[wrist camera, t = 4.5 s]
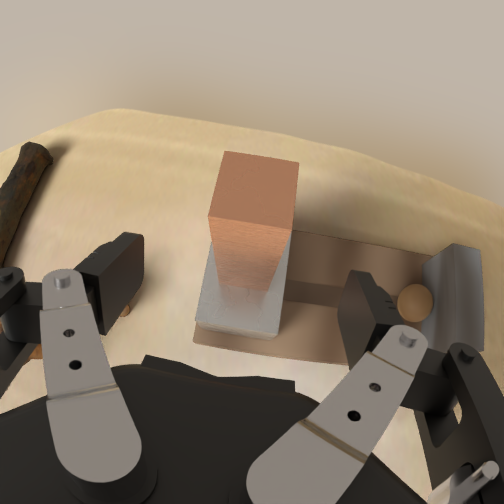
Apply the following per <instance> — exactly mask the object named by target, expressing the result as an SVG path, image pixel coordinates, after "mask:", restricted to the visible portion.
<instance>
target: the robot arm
mask: <svg viewBox="0 0 504 504" xmlns="http://www.w3.org/2000/svg"><path fill="white" fill-rule="evenodd" d="M143 277H144V237H143V235H141V234H135V233H129V232H123V233H122V234H121V235H120V236H119V237H117V238H116V239H115V240H114V241H113V242H108V243H106V244H103V245H101V246H99V247H98V248H97V249H96V250H95V251H93V253H91V254H90V255H89V256H88V258H85V259H84V260H83V261H82V262H81V263H80V264H78V265H77V266H76V267H75V268H74V269H73V270H72V269H59V270H55V271H52V272H50V273H48V274H47V275H46V276H45V277H44V278H43V280H42V283H39V282H25V277H24V273H23V271H22V270H21V269H20V268H17V267H6V268H2V269H0V321H1V324H2V327H3V331H2V332H1V334H0V399H1V397H2V396H3V394H4V392H5V391H6V389H7V388H8V386H9V385H10V383H11V382H12V381H13V379H14V378H15V376H16V375H17V373H18V372H19V370H20V369H21V368H22V366H23V365H24V363H25V362H26V360H27V359H28V358H29V356H30V355H31V354H32V352H33V351H34V349H35V348H36V347H37V345H38V344H42V355H43V365H44V373H45V381H46V388H47V395H46V396H43V397H41V398H39V399H36V400H34V401H32V402H29V403H27V404H24V405H22V406H19V407H17V408H15V409H12V410H10V411H7V412H5V413H2V414H0V504H504V396H503V394H502V392H501V391H500V389H499V387H498V385H497V383H496V381H495V379H494V377H493V376H492V374H491V372H490V370H489V368H488V367H487V365H486V363H485V361H484V360H483V358H482V356H481V355H480V353H479V352H478V351H477V350H476V349H474V348H473V347H471V346H469V345H467V344H465V343H460V342H456V343H453V344H451V346H450V347H449V349H448V351H447V353H443V352H440V351H436V350H433V349H430V348H427V347H428V341H427V339H426V338H425V336H424V335H423V334H422V333H421V332H419V331H418V330H416V329H414V328H412V327H409V326H406V325H405V323H404V321H403V319H402V318H401V316H400V314H399V312H398V310H396V306H395V304H394V303H393V301H392V299H391V297H390V295H389V294H388V293H387V292H386V291H385V290H384V289H383V288H382V287H381V286H377V284H376V282H375V280H374V279H373V277H372V275H371V273H370V272H365V271H358V270H351V271H350V272H349V274H348V277H347V280H346V284H345V287H344V290H343V293H342V296H341V299H340V302H339V306H338V312H337V319H338V324H339V328H340V332H341V336H342V340H343V344H344V348H345V352H346V357H347V361H348V365H349V370H350V372H349V373H348V374H347V375H346V376H345V377H344V379H343V380H342V381H341V382H340V383H339V384H338V385H337V386H336V387H335V389H334V390H333V391H332V392H331V393H330V394H329V395H328V396H327V397H326V398H325V399H324V400H323V401H322V402H321V403H319V402H317V401H315V400H314V399H312V398H310V397H308V396H305V395H303V394H300V393H297V392H295V381H292V380H283V379H275V378H268V377H261V376H247V377H217V376H213V375H211V374H208V373H206V372H203V371H201V370H198V369H196V368H193V367H191V366H188V365H186V364H183V363H181V362H177V361H172V360H167V359H163V358H159V357H154V356H150V355H145V357H144V359H143V361H142V363H141V364H128V365H120V366H116V367H112V368H110V366H109V363H108V360H107V357H106V354H105V351H104V348H103V345H102V341H101V338H100V335H99V334H101V335H105V336H106V335H107V333H108V332H109V330H110V329H111V327H112V326H113V324H114V323H115V321H116V320H117V319H118V317H119V316H120V314H121V313H122V311H123V310H124V309H125V307H126V306H127V304H128V303H129V301H130V300H131V299H132V297H133V296H134V294H135V293H136V292H137V290H138V289H139V288H140V286H141V284H142V281H143ZM458 401H459V404H460V406H461V409H462V418H461V421H460V423H459V424H458V421H457V419H456V416H455V413H454V411H453V408H454V407H455V405H456V404H457V403H458ZM399 406H402V407H406V408H410V409H413V410H414V414H415V418H416V422H417V425H418V429H419V433H420V437H421V441H422V445H423V449H424V453H425V458H426V462H427V467H428V471H429V476H430V481H431V486H432V492H431V494H430V495H429V497H428V501H427V502H426V501H425V500H423V499H422V498H421V497H420V496H419V495H418V494H417V493H416V492H414V491H413V490H412V489H411V488H410V487H409V486H408V485H407V484H406V483H404V482H403V481H402V480H401V479H400V478H399V477H398V476H397V475H396V474H395V473H394V472H392V471H391V470H390V469H389V468H388V467H387V466H386V465H385V464H384V463H383V462H382V461H381V460H380V459H379V458H378V457H376V456H375V455H374V454H373V453H372V450H373V449H374V447H375V446H376V444H377V442H378V441H379V439H380V438H381V436H382V435H383V433H384V431H385V430H386V428H387V426H388V425H389V423H390V421H391V420H392V418H393V416H394V414H395V413H396V411H397V409H398V407H399Z"/></svg>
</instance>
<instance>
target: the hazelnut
mask: <svg viewBox="0 0 504 504" xmlns="http://www.w3.org/2000/svg"><path fill="white" fill-rule="evenodd" d="M397 307H398V311H399V313H400V315H401V316H402V317H403V318H404V319H405V320H407V321H410V322H419V321H422V320H424V319H425V318H426V317H428V315H429V314H430V313H431V310H432V308H433V297H432V294H431V292H430V291H429V290H428V289H427V288H426V287H425V286H423V285H420V284H412V285H409V286H407V287H406V288H404V289H403V290H402V291H401V293H400V295H399V297H398V301H397Z"/></svg>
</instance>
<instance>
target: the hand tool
mask: <svg viewBox="0 0 504 504" xmlns="http://www.w3.org/2000/svg"><path fill="white" fill-rule="evenodd" d="M51 164H53V158H52V157H51V155H50V154H49V152H48V150H47V149H46V148H45V147H43V146H42V145H40V144H37V143H32V142H27V143H25V144H24V145H23V146H22V147H21V150H20V154H19V158H18V160H17V162H16V164H15V165H14V167H13V169H12V170H11V172H10V175H9V176H8V177H7V180H6V181H5V182H4V183H3V185H2V187H1V188H0V269H2V268H3V267H2V265H3V261H4V257H5V254H6V251H7V249H8V247H9V244H10V242H11V240H12V237H13V235H14V233H15V231H16V229H17V226H18V223H19V220H20V217H21V215H22V213H23V211H24V209H25V207H26V205H27V203H28V201H29V199H30V197H31V195H32V193H33V191H34V188H35V186H36V184H37V182H38V180H39V178H40V176H41V174H42V172H43V170H44V169H45V167H46V166H48V165H51Z"/></svg>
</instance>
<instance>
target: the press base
mask: <svg viewBox="0 0 504 504" xmlns="http://www.w3.org/2000/svg"><path fill="white" fill-rule="evenodd" d="M351 270H358V271H365V272H370V273H371V275H372V277H373V279H374V280H375V282H376V284H377V286H381V287H382V288H383V289H384V290H385V291H386V292H387V293H388V294H389V295H390V297H391V299H392V301H393V303H394V304H395V306H396V310H398V307H397V301H398V297H399V295H400V293H401V291H402V290H403V289H404V288H406V287H407V286H409V285H412V284H420V285H423V286H425V287H426V288H427V289H428V290H429V291H430V292H431V294H432V297H433V308H432V310H431V313H430V314H429V315H428V317H426V318H425V319H424V320H422V321H419V322H410V321H407V320H405V319H404V318H403V317H402V316H401V315H400V316H401V318H402V319H403V321H404V323H405V325H406V326H409V327H412V328H414V329H416V330H418V331H419V332H421V333H422V334H423V335H424V336H425V338H426V339H427V341H428V347H427V348H430V349H433V350H436V351H440V352H443V353H447V351H448V349H449V347H450V346H451V344H453V343H456V342H460V343H465V344H467V345H469V346H471V347H473V348H474V349H476V350H477V351H478V352H481V351H484V294H483V278H482V265H481V255H480V250H478V249H474V248H470V247H466V246H462V245H458V244H454V243H453V244H451V245H450V246H448V247H447V248H445V249H444V250H443V251H441V252H440V253H438V254H437V255H435V256H434V257H433V256H428V255H423V254H418V253H413V252H408V251H403V250H398V249H393V248H388V247H383V246H378V245H372V244H367V243H362V242H357V241H351V240H346V239H340V238H335V237H330V236H324V235H318V234H313V233H307V232H302V231H296V230H292V232H291V240H290V248H289V256H288V264H287V272H286V279H285V287H284V294H283V302H282V309H281V316H280V323H279V330H278V335H276V336H275V337H274V338H273V339H272V340H264V339H258V338H252V337H246V336H240V335H234V334H228V333H222V332H217V331H211V330H206V329H201V327H200V326H199V325H198V323H197V322H196V327H195V332H194V337H193V342H195V343H196V344H201V345H207V346H212V347H217V348H223V349H228V350H234V351H240V352H246V353H252V354H259V355H266V356H272V357H279V358H287V359H295V360H303V361H311V362H320V363H329V364H340V365H348V361H347V357H346V352H345V348H344V344H343V340H342V336H341V332H340V328H339V324H338V319H337V312H338V306H339V302H340V299H341V296H342V293H343V290H344V287H345V284H346V280H347V277H348V274H349V272H350V271H351ZM398 312H399V311H398ZM399 314H400V313H399Z"/></svg>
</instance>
